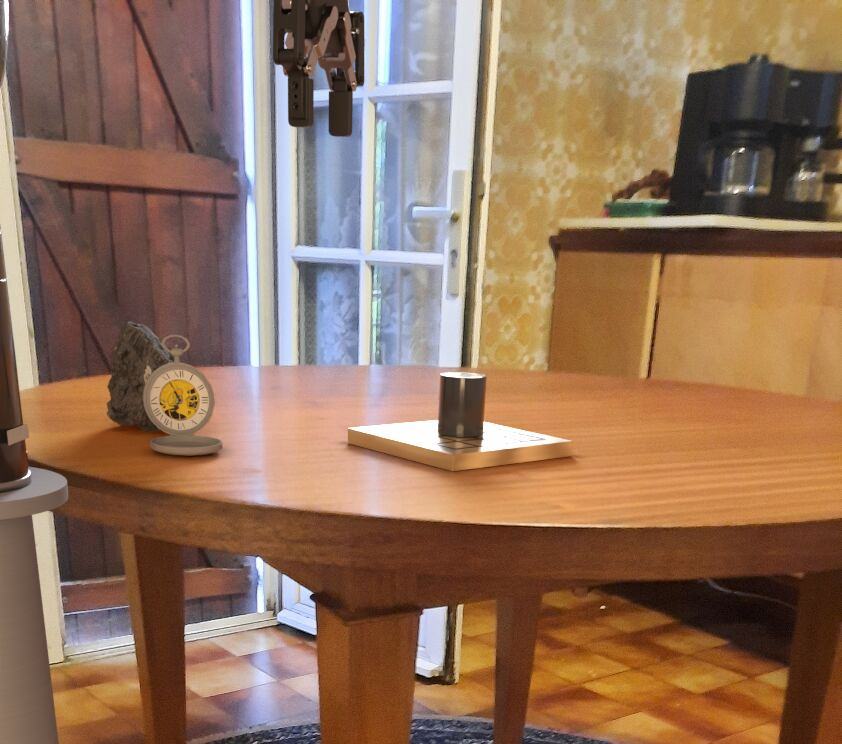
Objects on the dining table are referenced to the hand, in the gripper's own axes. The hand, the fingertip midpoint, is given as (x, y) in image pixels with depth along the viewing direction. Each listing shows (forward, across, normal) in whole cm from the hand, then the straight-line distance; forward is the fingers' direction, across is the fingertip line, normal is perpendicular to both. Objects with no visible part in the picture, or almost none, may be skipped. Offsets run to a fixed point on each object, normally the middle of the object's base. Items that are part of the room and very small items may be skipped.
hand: (321, 131), depth 100 cm
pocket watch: (+28, +15, -7) cm, 32 cm away
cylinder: (+26, 0, +15) cm, 30 cm away
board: (+28, 0, +15) cm, 32 cm away
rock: (+28, +5, -16) cm, 32 cm away
